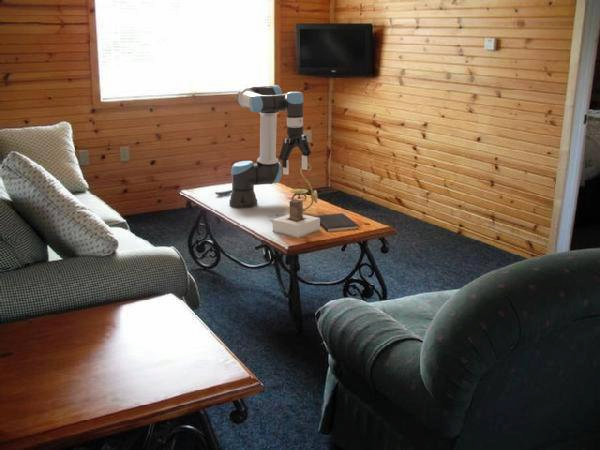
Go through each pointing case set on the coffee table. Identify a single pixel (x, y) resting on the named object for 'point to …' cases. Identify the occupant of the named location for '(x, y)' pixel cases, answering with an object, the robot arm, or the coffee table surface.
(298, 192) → the wall sconce
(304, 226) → the grey well block
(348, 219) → the hardcover book
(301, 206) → the walnut peg
